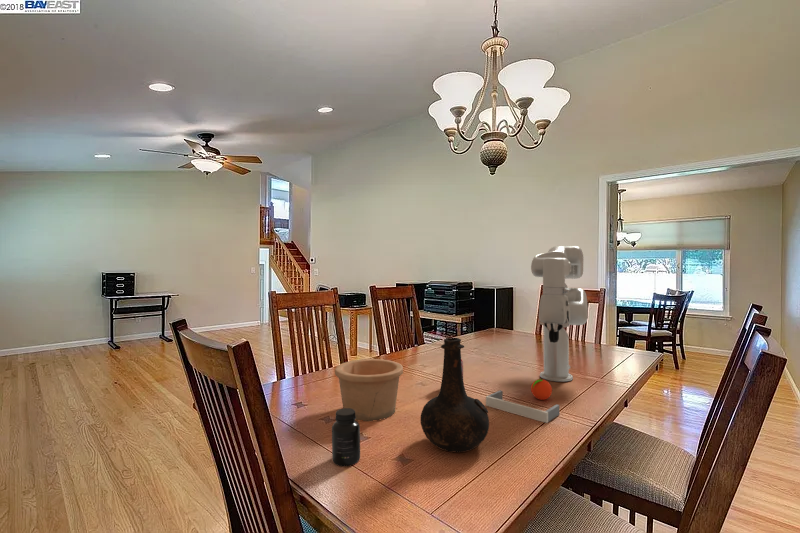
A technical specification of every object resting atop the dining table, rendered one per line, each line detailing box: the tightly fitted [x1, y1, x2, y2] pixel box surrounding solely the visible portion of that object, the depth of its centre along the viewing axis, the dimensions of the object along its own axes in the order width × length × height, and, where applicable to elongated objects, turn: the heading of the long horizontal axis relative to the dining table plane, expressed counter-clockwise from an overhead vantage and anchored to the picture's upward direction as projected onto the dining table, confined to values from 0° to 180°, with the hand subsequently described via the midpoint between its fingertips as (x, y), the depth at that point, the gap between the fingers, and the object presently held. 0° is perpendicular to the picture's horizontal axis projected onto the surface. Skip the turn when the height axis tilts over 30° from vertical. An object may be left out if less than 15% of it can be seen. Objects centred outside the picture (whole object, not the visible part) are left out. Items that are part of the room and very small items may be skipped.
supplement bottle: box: [331, 407, 361, 467], centre depth 98 cm, size 7×7×12 cm
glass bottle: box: [420, 337, 490, 453], centre depth 106 cm, size 18×18×28 cm
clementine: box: [530, 378, 553, 401], centre depth 140 cm, size 8×7×7 cm
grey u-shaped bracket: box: [485, 389, 560, 424], centre depth 130 cm, size 9×21×3 cm, turn 45°
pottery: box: [334, 358, 404, 422], centre depth 130 cm, size 22×22×14 cm
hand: (553, 341), depth 147 cm, fingers closed
